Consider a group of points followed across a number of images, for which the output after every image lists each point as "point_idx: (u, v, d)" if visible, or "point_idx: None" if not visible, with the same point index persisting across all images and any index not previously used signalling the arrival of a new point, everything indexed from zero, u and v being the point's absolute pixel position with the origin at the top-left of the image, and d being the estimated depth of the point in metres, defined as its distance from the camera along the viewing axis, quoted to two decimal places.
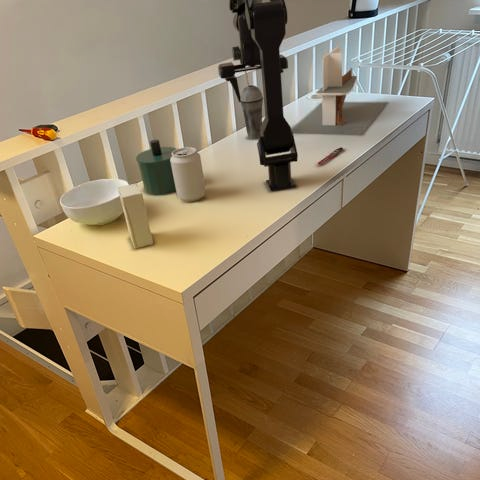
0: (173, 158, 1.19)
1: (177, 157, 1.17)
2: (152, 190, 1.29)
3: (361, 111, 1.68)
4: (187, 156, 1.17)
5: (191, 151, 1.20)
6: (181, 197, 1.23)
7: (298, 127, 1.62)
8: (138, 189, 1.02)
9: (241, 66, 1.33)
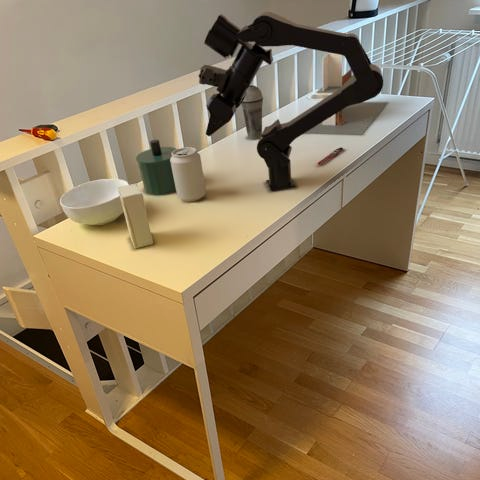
0: (173, 158, 1.19)
1: (177, 157, 1.17)
2: (152, 190, 1.29)
3: (361, 111, 1.68)
4: (187, 156, 1.17)
5: (191, 151, 1.20)
6: (181, 197, 1.23)
7: None
8: (138, 189, 1.02)
9: (228, 101, 1.12)
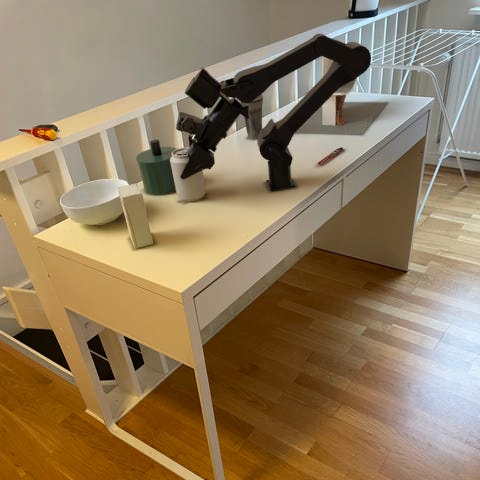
0: (173, 158, 1.18)
1: (177, 157, 1.17)
2: (152, 190, 1.29)
3: (361, 111, 1.68)
4: (187, 156, 1.17)
5: None
6: (181, 197, 1.23)
7: None
8: (138, 189, 1.02)
9: None
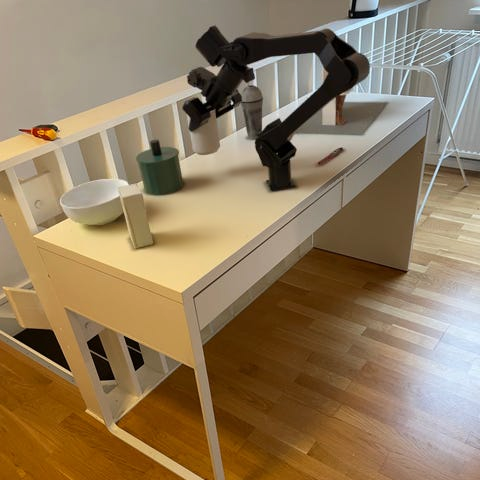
0: None
1: None
2: (152, 190, 1.29)
3: (361, 111, 1.68)
4: None
5: None
6: (193, 149, 1.32)
7: None
8: (138, 189, 1.02)
9: (208, 106, 1.21)
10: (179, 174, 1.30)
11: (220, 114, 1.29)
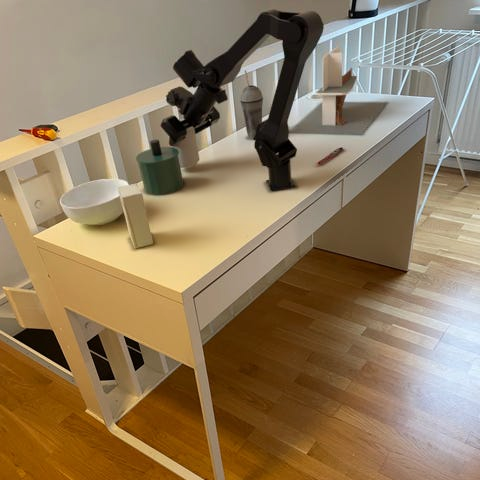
0: None
1: None
2: (152, 190, 1.29)
3: (361, 111, 1.68)
4: None
5: None
6: None
7: (298, 127, 1.62)
8: (138, 189, 1.02)
9: (186, 123, 1.29)
10: (179, 174, 1.30)
11: (199, 130, 1.37)
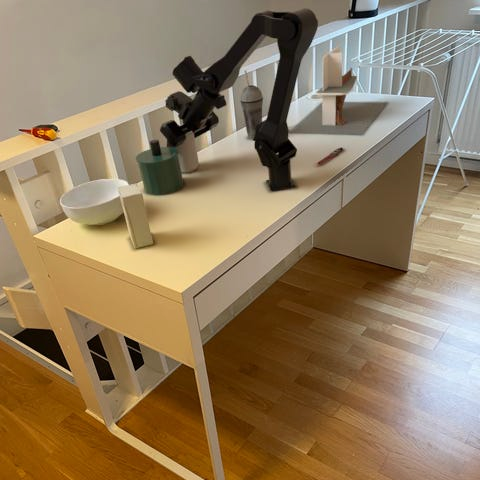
0: None
1: None
2: (152, 190, 1.29)
3: (361, 111, 1.68)
4: None
5: None
6: None
7: (298, 127, 1.62)
8: (138, 189, 1.02)
9: (185, 128, 1.30)
10: (179, 174, 1.30)
11: (200, 133, 1.39)
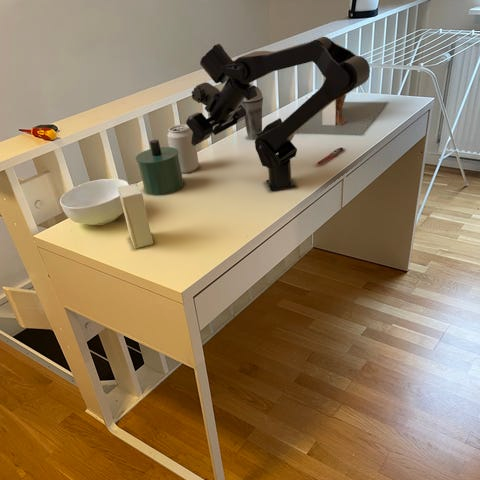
0: None
1: (169, 131, 1.35)
2: (152, 190, 1.29)
3: (361, 111, 1.68)
4: (174, 132, 1.34)
5: (185, 129, 1.35)
6: None
7: None
8: (138, 189, 1.02)
9: (212, 121, 1.24)
10: (179, 174, 1.30)
11: (226, 127, 1.32)
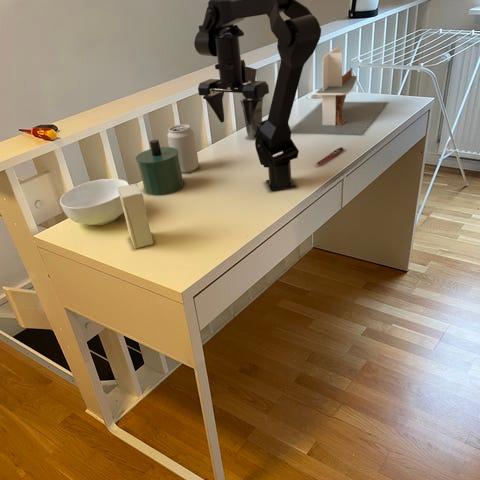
0: None
1: (169, 131, 1.35)
2: (152, 190, 1.29)
3: (361, 111, 1.68)
4: (174, 132, 1.34)
5: (185, 129, 1.35)
6: None
7: (298, 127, 1.62)
8: (138, 189, 1.02)
9: None
10: (179, 174, 1.30)
11: None
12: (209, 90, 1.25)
